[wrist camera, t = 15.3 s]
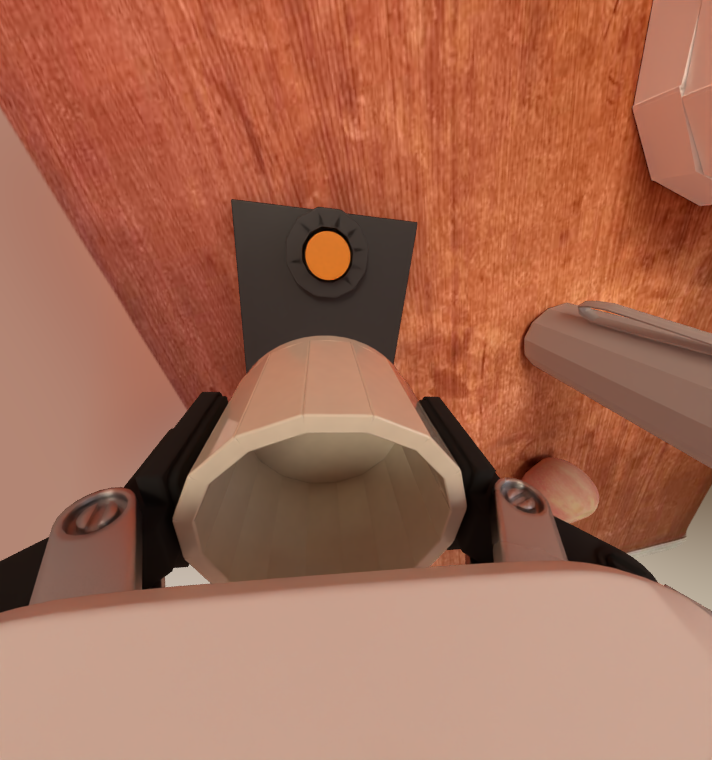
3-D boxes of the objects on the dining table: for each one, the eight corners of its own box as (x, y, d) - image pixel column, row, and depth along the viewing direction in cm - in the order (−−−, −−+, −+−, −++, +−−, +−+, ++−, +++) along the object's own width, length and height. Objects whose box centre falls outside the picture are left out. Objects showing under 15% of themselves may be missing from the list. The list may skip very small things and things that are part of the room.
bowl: (244, 480, 12) (200, 618, 8) (225, 329, 9) (136, 412, 5) (394, 477, 13) (432, 597, 9) (423, 339, 10) (504, 417, 6)
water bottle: (590, 342, 31) (1285, 599, 9) (525, 378, 32) (989, 686, 10) (577, 267, 27) (1816, 393, 5) (502, 312, 28) (1205, 581, 6)
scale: (252, 384, 28) (244, 402, 25) (237, 201, 21) (223, 194, 18) (384, 388, 30) (391, 405, 27) (410, 222, 23) (425, 220, 20)
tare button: (305, 275, 21) (304, 278, 20) (306, 229, 20) (305, 228, 18) (346, 279, 22) (348, 282, 20) (350, 234, 20) (352, 233, 19)
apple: (502, 488, 41) (541, 541, 33) (516, 448, 37) (562, 497, 30) (552, 483, 41) (600, 533, 34) (569, 443, 38) (627, 490, 31)
